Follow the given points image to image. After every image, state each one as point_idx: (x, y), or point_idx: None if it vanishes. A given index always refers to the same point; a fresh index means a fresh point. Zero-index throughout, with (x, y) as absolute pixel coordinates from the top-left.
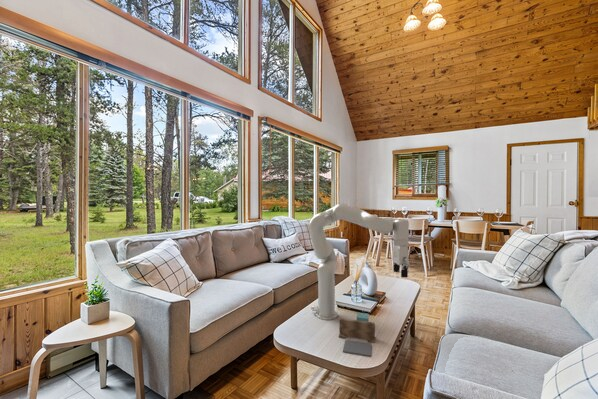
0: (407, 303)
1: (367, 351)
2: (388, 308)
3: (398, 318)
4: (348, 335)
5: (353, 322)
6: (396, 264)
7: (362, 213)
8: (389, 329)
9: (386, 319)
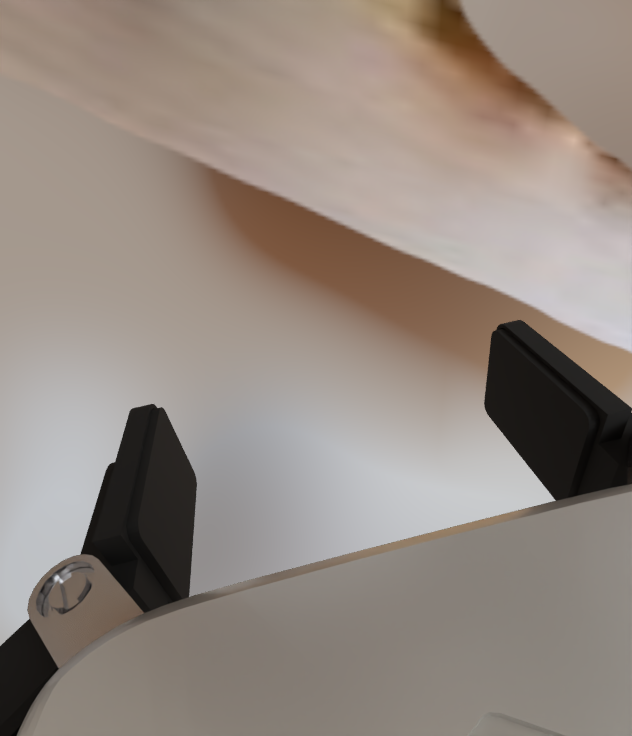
0: (557, 309)
1: None
2: (516, 175)
3: (370, 212)
4: None
5: None
6: (596, 467)
7: None
8: (200, 105)
9: (353, 119)
